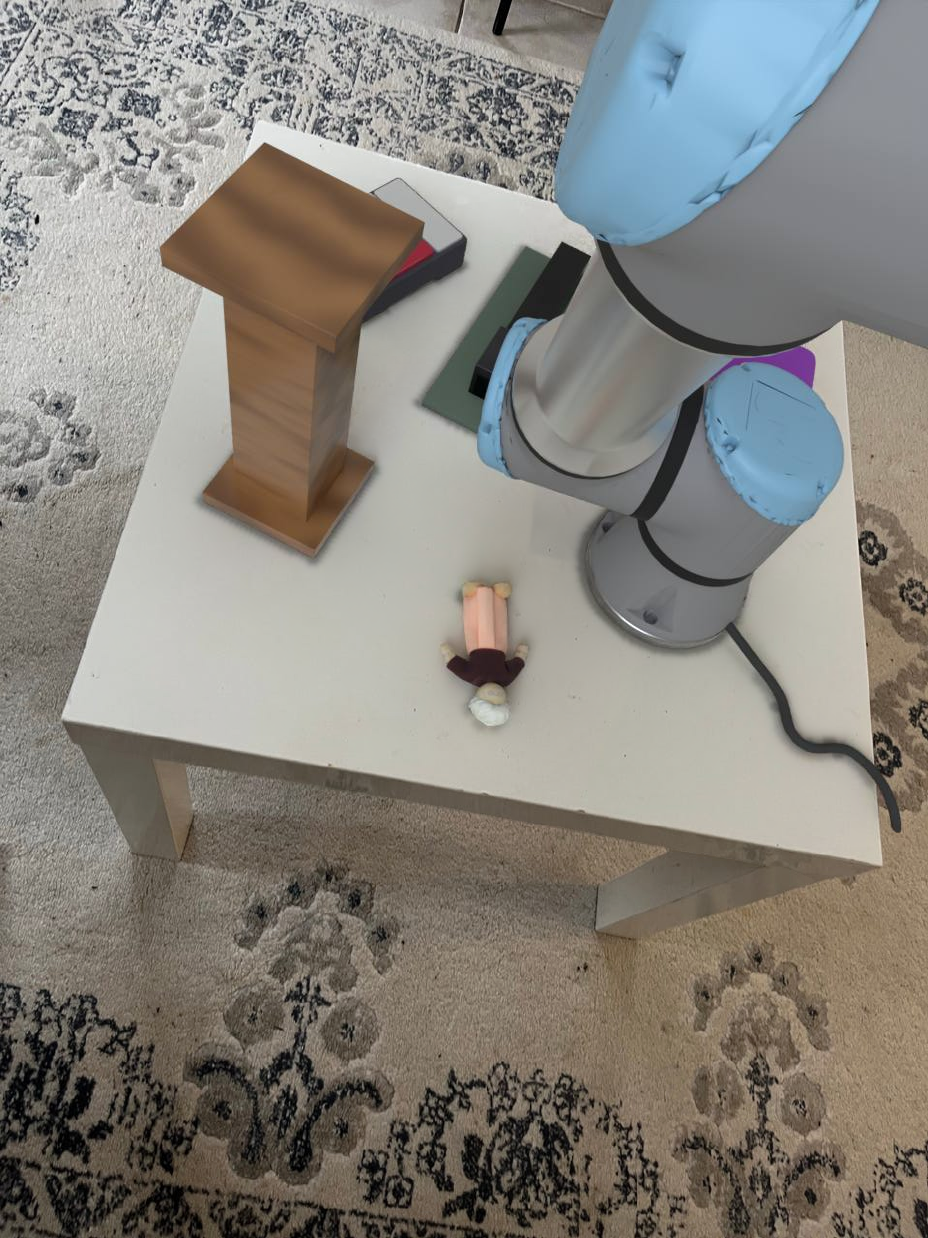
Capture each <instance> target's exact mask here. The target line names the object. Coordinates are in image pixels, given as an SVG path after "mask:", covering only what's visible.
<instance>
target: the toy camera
mask: <svg viewBox="0 0 928 1238" xmlns="http://www.w3.org/2000/svg"><path fill="white" fill-rule="evenodd" d="M748 362H757V363H764V364H769V365H773V366H776V367H778V368H781V369H783V370H785V371H787V372H789V373H791V374H793V375H795V376H796V377H798V378H799V379H800V380H802V381H803V382H804V383H806V384H807V385H808V386H809V387H810V388H812V389H814V388H813V387H814V381H815V375H816V374H815V373H816V365H817V364H816V363H817V361H816V355H815V353H813V351H812V350H810V349H808V348H806V347H804V346H803V345H801V346H799V347H797V348H794V349H792V350H789V351H785V352H782V353H778V354H775V355H771V356H763V357H752V358H734V359H732V360H731V361H730V362H729V363H728V364H726V365H725V366H724V367H723V368H722V369H720V370H719V371H718V372H717V373H716V374H714V375H713V376H712V377H711V378H710V379H709V380H711V381H713V380H714V378H716V377H717V376H718V375H720V374H721V373H722V372H723V371H725V370H727V369H729V368H730V367H732V366H737V365H739V366H742V365H743V364H745V363H748Z"/></svg>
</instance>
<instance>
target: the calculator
mask: <svg viewBox="0 0 928 1238" xmlns="http://www.w3.org/2000/svg"><path fill="white" fill-rule="evenodd" d="M367 193H368V194H370V195H372V196H374V197H376V198H378V199H380V200H382V201H384V202H386V203H388V204H390V205H392V206H394V207H396V208H398V209H400V210H402V211H404V212H406V213H408V214H410V215H412V216H414V217H416V218H418V219H420V220H422V221H424V222H425V225H424V231H423V236H422V240H421V242H420V243H419V244H418V246H417V247H416V248H415V250H414V251H413V252H412V254H411V255H410V256H409V257H408V259H407V260H406V261H405V263H404V264H403V265H402V267H401V268H400V269H399V270H398V272H397V273H396V274H395V276H394V277H393V278H392V280H391V281H390V282H389V284H388V285H387V286H386V287H385V289H384V290H383V291H382V293H381V294H380V295H379V297H378V298H377V299H376V301H375V302H374V303H373V304H372V306H371V307H370V308H369V310H368V311H367V312H366V314H365V315H364V316H363V317H362V324H363V323H364V322H366V321H368V320H369V319H371V318H373V317H374V316H376V315H378V314H379V313H381V312H382V311H384V310H386V309H388V308H389V307H391V306H392V305H394V304H395V303H397V302H399V301H400V300H402V299H404V298H405V297H407V296H408V295H410V294H411V293H413V292H415V291H417V290H418V289H420V288H422V287H424V286H425V285H427V284H429V283H430V282H431V281H433V280H440V279H442V278H444V277H446V276H447V275H449V274H451V273H452V272H454V271H455V270H457V269H458V268H460V267H462V266H463V264H464V260H465V255H466V250H467V244H468V237H467V236H466V235H465V234H464V233H463V232H462V231H461V230H460V229H458V228H457V227H456V226H455V225H453V223H452V222H450V220H448V219H447V218H446V217H445V216H444V215H443V214H441V213H440V212H439V211H438V210H437V209H436V208H435V207H434V206H433V205H431V204H430V202H428V201H427V200H426V199H425V198H424V197H423V196H421V194H420V193H418V192H417V191H416V190H415V189H414V188H413V187H412V186H410V185H409V184H408V183H407V181H405V180H404V179H402V178H401V177H395V178H394V179H391V180H390V181H387V182H386V183H385V184H382V185H381V186H378V187H377V188H375V189H373V190H371V191H370V192H367Z"/></svg>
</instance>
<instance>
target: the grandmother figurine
mask: <svg viewBox="0 0 928 1238" xmlns="http://www.w3.org/2000/svg"><path fill="white" fill-rule="evenodd" d="M513 589H514V587H513V585H512V584H510V583H507V582H497V583H495V584H493V585H491V587H488V586H485V583H483V582H480V581H468V582H465V583H463V584H462V586H461V595H462V598H463V601H462V606H463V607H462V609H463V614H462V615H463V616H462V621H463V622H462V623H463V632H464V643H465V648H466V652H467V655H468V657H469V660H467V659H465V658H464V657H462V656H461V655H457V653H456V652H455V651H454V650H453V647H452V645H451V644H450V643H449V642H443V643H441V644H440V646H439V651H440V653H441V654H442V655H443V659H444V661H445V663H446V668H447V669H448V670H450V672H452V673H453V674H454V675H455V676H456V677H458V678H459V679H460V680H462V681H463V682H466V683H467V684H468V683H469V684H471V685H472V686H473V687H477V688H478V689H477V690H476V692H475V695H474V696H473V697H472V698H471V699H470V701H469V704H467V706H468V708H469V709H470V711H471V713H472V715H473V716H474V717H475V718H476V720H478V721H480V722H481V723H482V724H483V725H485V726H487V727H495V726H501V725H504V724H505V723H506V722H507V721H508V719H509V718H510V716H511V707H510V704H509V702H508V697H507V693H506V691H505V688H507V687H508V686H510V685H511V684H512V683H513V682H514V681H515V680H516V679H517V678H518V676H519V675H520V673H521V672H522V671H523V669H524V668H525V666H526V661H527V659H528V658H527V656H528V654H529V652H530V647H529V646H528V644H525V643H521V644H519V645H518V647H517V648H516V652H515V654H514V656H513V658H510V659H506V655H507V652H508V650H509V649H508V648H509V647H508V646H509V634H508V607H507V606H508V605H507V600H506V598H508V597H509V596H510V595H512V592H513Z"/></svg>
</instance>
